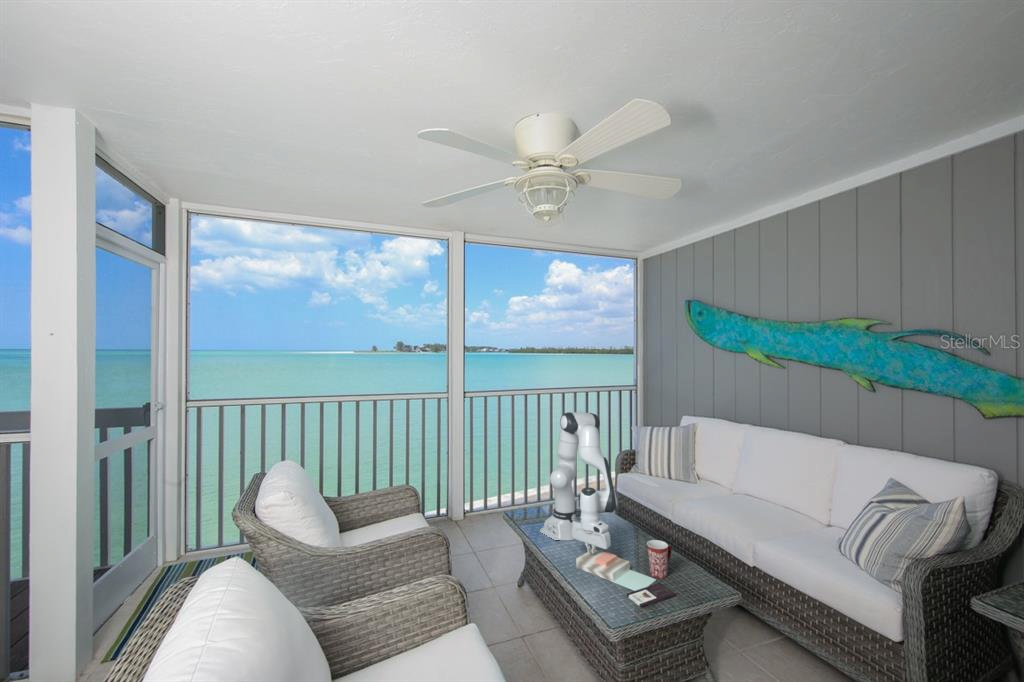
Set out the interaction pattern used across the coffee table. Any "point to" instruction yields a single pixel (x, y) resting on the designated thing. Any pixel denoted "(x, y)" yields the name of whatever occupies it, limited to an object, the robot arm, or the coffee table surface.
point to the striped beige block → (609, 572)
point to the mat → (634, 580)
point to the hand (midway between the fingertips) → (591, 552)
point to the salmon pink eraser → (606, 559)
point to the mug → (658, 557)
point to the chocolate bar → (651, 595)
